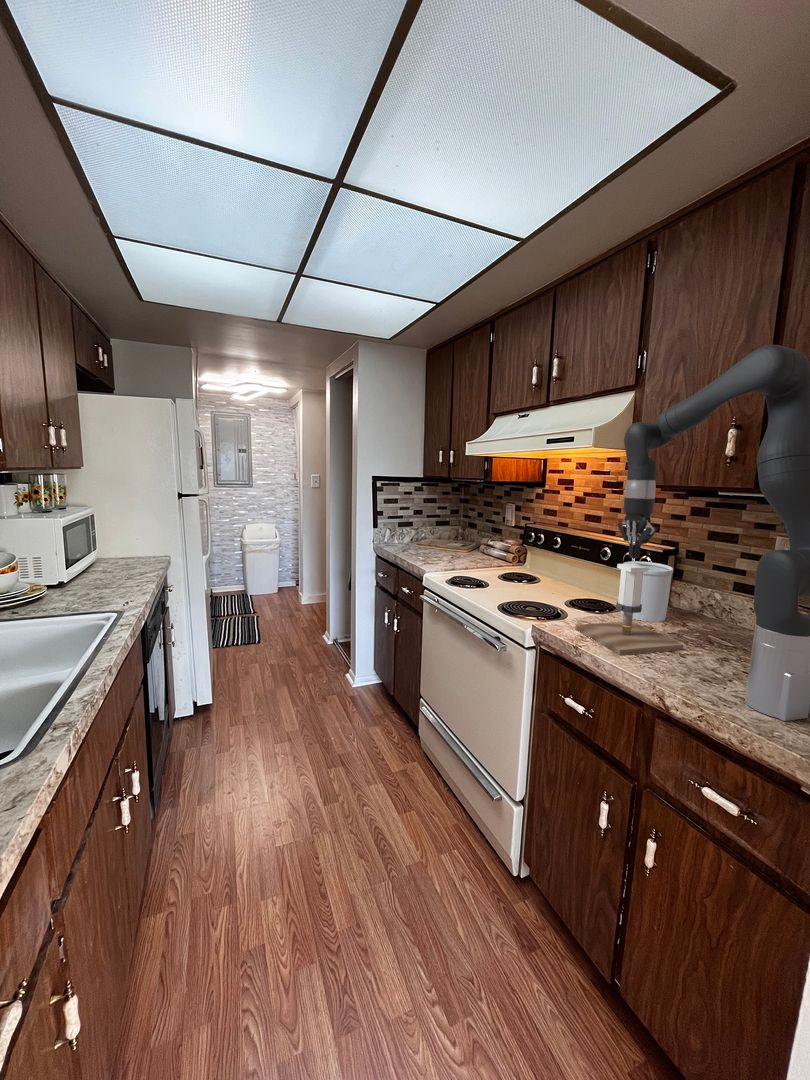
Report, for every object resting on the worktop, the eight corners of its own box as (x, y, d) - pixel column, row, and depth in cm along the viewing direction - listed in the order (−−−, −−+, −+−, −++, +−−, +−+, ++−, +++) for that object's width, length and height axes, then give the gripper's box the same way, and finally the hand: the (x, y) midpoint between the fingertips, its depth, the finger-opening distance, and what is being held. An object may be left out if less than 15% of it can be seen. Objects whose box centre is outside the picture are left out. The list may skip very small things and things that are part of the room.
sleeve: (644, 606, 127) (648, 567, 125) (627, 607, 125) (631, 568, 124) (630, 600, 132) (634, 563, 130) (614, 601, 131) (617, 563, 129)
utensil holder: (673, 625, 143) (679, 571, 140) (623, 620, 147) (627, 568, 144) (661, 611, 157) (666, 563, 155) (615, 607, 161) (619, 560, 159)
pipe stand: (682, 649, 123) (688, 600, 121) (619, 655, 118) (623, 604, 116) (631, 625, 142) (635, 582, 140) (575, 629, 138) (578, 585, 136)
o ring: (646, 612, 126) (646, 606, 126) (626, 613, 125) (627, 607, 125) (630, 605, 133) (630, 600, 132) (611, 606, 131) (612, 601, 131)
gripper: (669, 498, 118) (662, 562, 121) (634, 495, 131) (628, 553, 134) (645, 498, 117) (639, 562, 119) (611, 495, 129) (606, 553, 132)
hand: (633, 557), depth 127 cm, fingers closed
